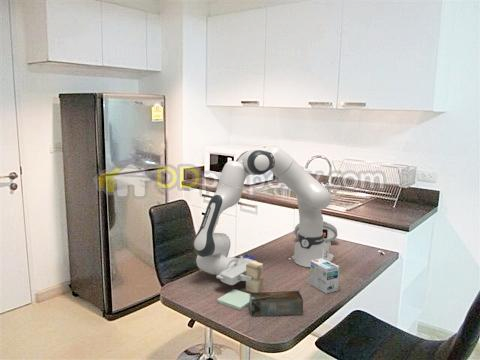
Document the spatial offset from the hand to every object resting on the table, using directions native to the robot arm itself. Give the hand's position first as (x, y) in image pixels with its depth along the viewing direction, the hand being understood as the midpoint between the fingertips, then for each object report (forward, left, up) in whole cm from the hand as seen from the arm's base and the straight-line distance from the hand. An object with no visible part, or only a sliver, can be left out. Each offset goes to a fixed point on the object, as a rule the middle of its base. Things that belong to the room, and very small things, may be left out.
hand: (256, 276), depth 164 cm
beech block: (0, -1, -6) cm, 6 cm away
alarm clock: (-69, -6, -6) cm, 70 cm away
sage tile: (+12, -1, -6) cm, 13 cm away
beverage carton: (+10, +15, -7) cm, 19 cm away
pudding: (-19, -17, -7) cm, 26 cm away
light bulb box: (-19, +21, -6) cm, 29 cm away
